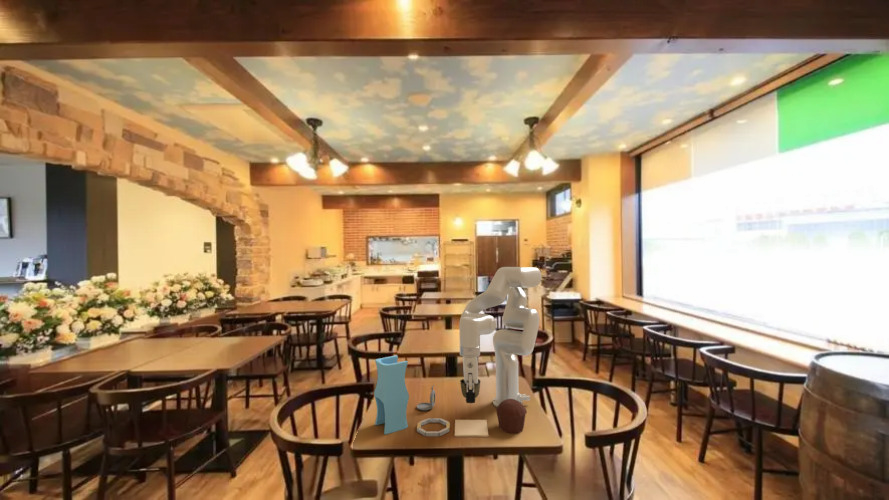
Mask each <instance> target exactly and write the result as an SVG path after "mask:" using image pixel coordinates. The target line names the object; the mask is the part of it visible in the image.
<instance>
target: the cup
mask: <svg viewBox="0 0 889 500" xmlns="http://www.w3.org/2000/svg"><path fill="white" fill-rule="evenodd" d="M459 382H460V390H461V394H462V397H464V398H465V399H466V391H467V383H466V384H465V380H464V378H461V379H460V380H459ZM468 383H469V382H468ZM472 383H473V382H472ZM468 386H469V385H468ZM472 386H473V385H472ZM480 388H481V380H480V378H478V384H475V383H474V391H475V399H476V398H478V397H479V395H480V391H481V390H480Z"/></svg>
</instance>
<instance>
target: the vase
mask: <svg viewBox="0 0 889 500" xmlns="http://www.w3.org/2000/svg"><path fill="white" fill-rule="evenodd" d="M398 358H399V357H398V355H396V354H395V355H391V356H385V357H382V358H381V357H379V358H376V359H375V360H374V361H375V365H376V370H377V381H376V386H375V389H374V392H373V396H374V399H375V405H376V418H375V422H374V426H378V425H382V424H384V430H383V434H384V435H388V434H392V433H396V432H399V431H403V430H405V429H407V428H408V427H409V426H408V420H407V409H408V408H407V407H408V403H409V399H410V394H409V391H408V388H407V384H406V379H405V377H406V370H407V366H408V364H409V363H408V361H407V360H404V361H399V362H398V360H399V359H398Z"/></svg>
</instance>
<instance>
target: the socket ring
mask: <svg viewBox="0 0 889 500" xmlns="http://www.w3.org/2000/svg"><path fill="white" fill-rule="evenodd" d="M430 423H432V424H434V423H435V424H439V423H440V424H442V426H445V428H442V429H441V430H437V431H435V430H434V431H433V430H432V431H427V430H425V429H423V428H422V426H424V425H427V424H430ZM416 425H417V426H416V432H417V433H418V434H420V435H422V436H424V437H442V436H443V435H445V434H448V433H449V432H450V428H451V423H450V421H448V420H447V419H446V420H445V419H444V418H440V417H437V418H435V417H428V418H426V419H422V420H420V421H419V422H417V424H416Z"/></svg>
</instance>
